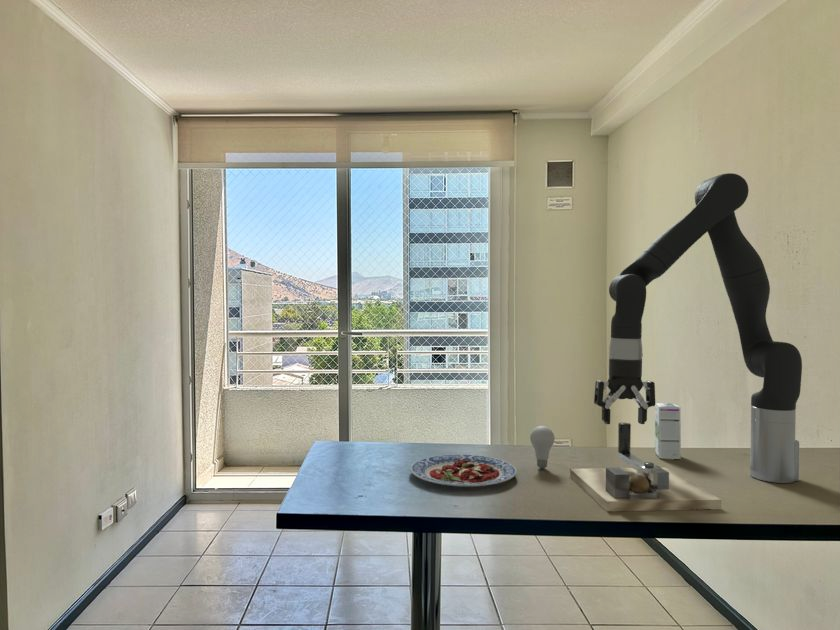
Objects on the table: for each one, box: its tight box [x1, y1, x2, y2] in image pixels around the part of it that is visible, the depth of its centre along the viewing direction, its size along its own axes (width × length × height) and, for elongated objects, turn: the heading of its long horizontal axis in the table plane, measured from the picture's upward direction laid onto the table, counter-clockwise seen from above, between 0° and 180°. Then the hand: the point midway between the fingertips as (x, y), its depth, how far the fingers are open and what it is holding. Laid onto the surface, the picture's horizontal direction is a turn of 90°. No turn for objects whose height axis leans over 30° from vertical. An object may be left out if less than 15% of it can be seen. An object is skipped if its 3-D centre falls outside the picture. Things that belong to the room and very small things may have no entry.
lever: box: [617, 422, 669, 490], centre depth 128 cm, size 5×21×10 cm, turn 3°
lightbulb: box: [529, 425, 556, 470], centre depth 144 cm, size 6×6×11 cm
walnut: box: [629, 475, 649, 493], centre depth 119 cm, size 4×4×4 cm
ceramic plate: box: [410, 453, 517, 488], centre depth 138 cm, size 26×26×3 cm
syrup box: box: [654, 402, 682, 460], centre depth 156 cm, size 6×6×14 cm
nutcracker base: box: [569, 467, 722, 512], centre depth 127 cm, size 24×23×7 cm
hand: (624, 423), depth 137 cm, fingers open, 8 cm apart
